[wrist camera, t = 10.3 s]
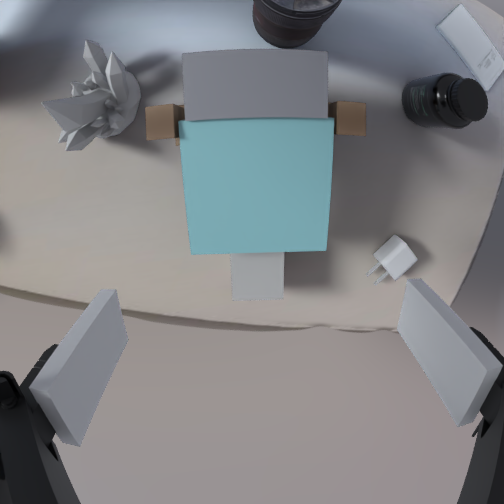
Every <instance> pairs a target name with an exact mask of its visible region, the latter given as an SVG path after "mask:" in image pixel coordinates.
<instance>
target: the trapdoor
mask: <svg viewBox="0 0 504 504" xmlns="http://www.w3.org/2000/svg"><path fill="white" fill-rule="evenodd" d="M182 67H183V90H184V109H185V120H180V121H178V124H179V138H180V151H181V163H182V174H183V185H184V195H185V205H186V214H187V223H188V232H189V240H190V249H191V255H196V254H231V253H265V252H300V251H326V247H327V236H328V224H329V211H330V197H331V181H332V162H333V138H334V118H332V117H328V52H327V51H313V50H294V49H237V50H218V51H204V52H193V53H183V54H182Z"/></svg>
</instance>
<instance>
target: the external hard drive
mask: <svg viewBox="0 0 504 504" xmlns="http://www.w3.org/2000/svg"><path fill="white" fill-rule="evenodd" d="M436 29H437V30H438V31H439V32H440V33H441V34H442V36H443V37H444V38H445V39H446V40H447V41H448V43H449V44H450V45H451V46H452V48H453V49H454V50H455V51H456V53H457V54H458V55H459V56H460V58H461V59H462V60H463V62H464V63H465V64H466V66H467V67H468V68H469V70H470V71H471V72H472V74H473V75H474V77H475V78H476V80H477V81H478V82H479V84H480V85H481V86H482V88H483V89H484V91H488V90H489V89H490V88H491V86H492V85H493V84H494V82H495V81H496V80H497V78H498V77H499V76H500V74H501V73H502V72H503V70H504V60H503V58H502V57H501V55H500V54H499V52H498V51H497V49H496V48H495V46H494V45H493V44H492V42H491V41H490V39H489V38H488V37H487V35H486V34H485V32H484V31H483V30H482V28H481V27H480V26H479V25H478V23H477V22H476V21H475V19H474V18H473V17H472V16H471V14H470V13H469V12H468V11H467V10H466V8H465V7H464V6H463V5H462V4H458V5H457V6H456V7H455V8H454V9H453V10H452V11H451V12H450V13H449V14H448V15H447V16H446V17H445V18H444V19H443V20H442V21H441V22H440V23H439V24H438V25H437V26H436Z"/></svg>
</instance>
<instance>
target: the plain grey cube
mask: <svg viewBox="0 0 504 504" xmlns="http://www.w3.org/2000/svg"><path fill="white" fill-rule="evenodd" d="M230 261H231V281H232V299H233V301H241V300H277V299H283V290H284V252H265V253H231V254H230Z"/></svg>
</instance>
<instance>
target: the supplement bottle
mask: <svg viewBox="0 0 504 504" xmlns="http://www.w3.org/2000/svg"><path fill="white" fill-rule="evenodd" d="M402 104H403V108H404V111H405V113H406V114H407V116H408V117H409V119H410V120H411V121H413V122H414V123H415V124H417V125H419V126H423V127H434V128H451V129H461V128H464V127H466V126H468V125H469V124H470V123H471V122H472V121H479V120H481V119H482V118H484V116H485V115H486V112H487V109H488V99H487V95H486V93H485V91H484V89H483V88H482V86H481V85H480V84H479V83H478V82H477V81H476V80H473V79H470V78H465V79H464V78H462V77H461V76H459V75H457V74H454V73H442V74H437V75H433V76H428V77H424V78H419V79H416V80H413V81H411V82H409V83H408V84H407V85H406V87H405V88H404V90H403V94H402Z"/></svg>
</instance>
